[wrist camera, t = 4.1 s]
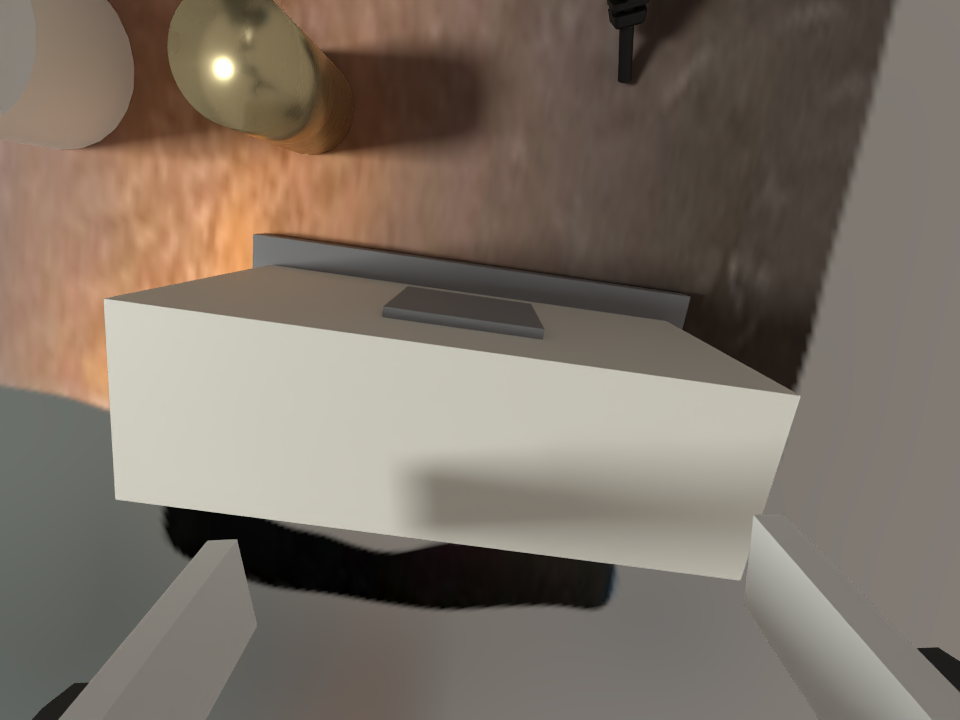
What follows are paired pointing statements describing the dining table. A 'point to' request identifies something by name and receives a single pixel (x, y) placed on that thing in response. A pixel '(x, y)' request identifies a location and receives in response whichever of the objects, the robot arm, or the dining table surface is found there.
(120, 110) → the cylinder with rectangular tab
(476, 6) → the dining table surface
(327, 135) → the cylinder
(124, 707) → the robot arm
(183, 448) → the box
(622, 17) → the power plug
